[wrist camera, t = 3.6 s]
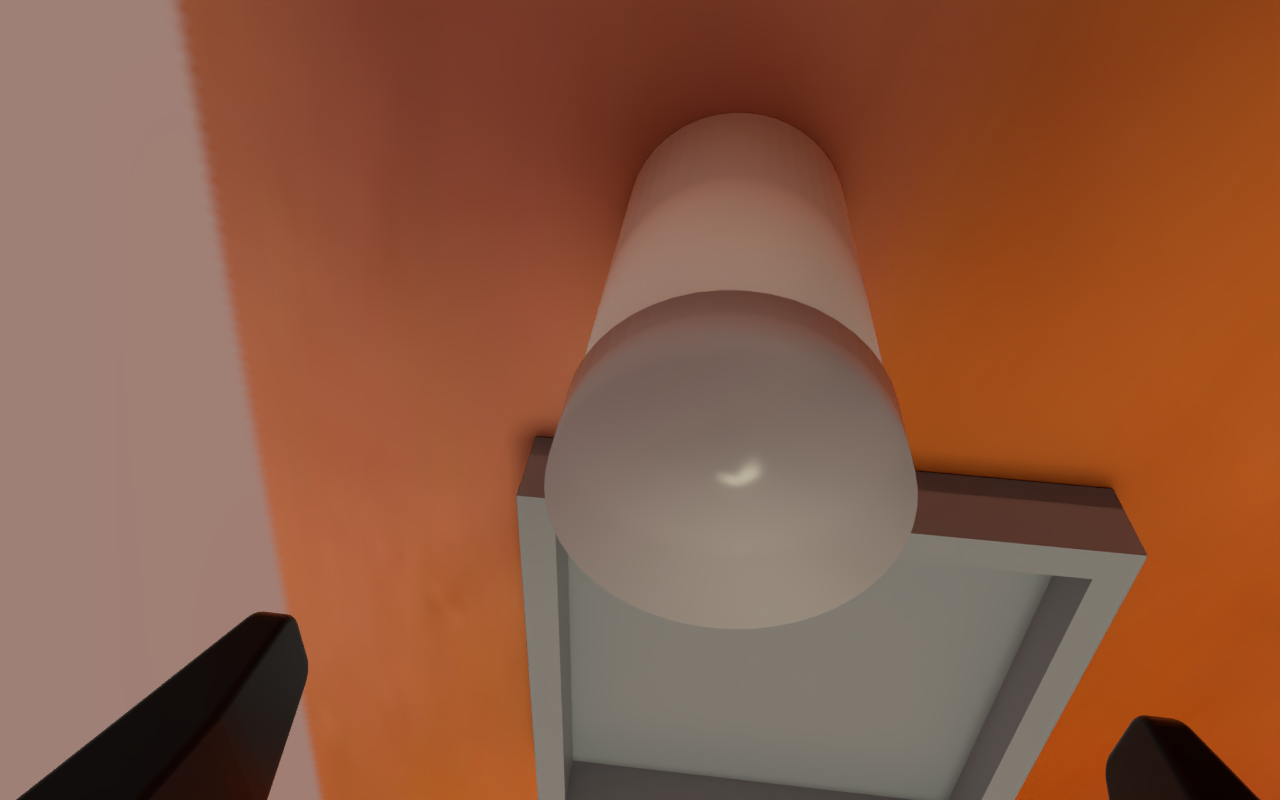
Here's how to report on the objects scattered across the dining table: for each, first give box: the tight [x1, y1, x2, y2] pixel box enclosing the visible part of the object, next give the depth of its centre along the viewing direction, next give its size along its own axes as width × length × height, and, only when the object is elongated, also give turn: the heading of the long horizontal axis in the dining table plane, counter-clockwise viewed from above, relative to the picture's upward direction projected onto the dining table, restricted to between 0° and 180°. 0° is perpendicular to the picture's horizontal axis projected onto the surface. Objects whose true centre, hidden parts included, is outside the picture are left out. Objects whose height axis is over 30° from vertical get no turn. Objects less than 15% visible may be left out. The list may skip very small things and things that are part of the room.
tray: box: [516, 437, 1147, 800], centre depth 28 cm, size 16×16×2 cm
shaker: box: [544, 113, 918, 629], centre depth 16 cm, size 5×5×10 cm
